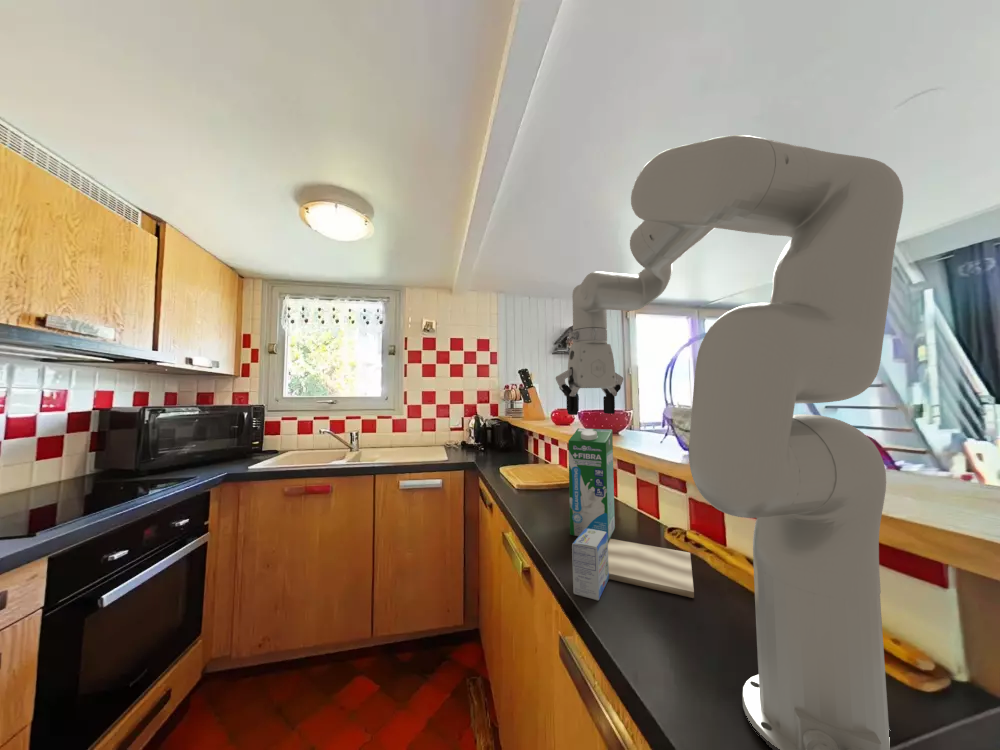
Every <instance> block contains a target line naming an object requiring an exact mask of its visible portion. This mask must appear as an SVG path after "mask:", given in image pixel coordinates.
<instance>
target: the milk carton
mask: <svg viewBox="0 0 1000 750" xmlns="http://www.w3.org/2000/svg"><path fill="white" fill-rule="evenodd" d="M613 440H614V439H613V429H606V428H605V429H602V428H577V429H576V430H575V432H574V433H572V435H571V437H570V438H569V439H568V446H567V447H568V486H569V487H568V489H569V490H568V494H569V497H568V499H569V536H570V535H571V536H575V537H579V535H580V534H581V533H582V532H583V531H584V529H595V530H600V531H604V532H607V534H608V542H609V541H610V539H611V537H612V534H613V533H614V531H615V529H616V526H615V525H616V524H615V523H616V520H615V489H614V488H615V483H614V476H615V475H614V444H613Z"/></svg>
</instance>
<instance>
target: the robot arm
mask: <svg viewBox="0 0 1000 750" xmlns="http://www.w3.org/2000/svg"><path fill="white" fill-rule="evenodd" d="M903 190H904V189H903V185H902V182H901V180H900V177H899V176H898V174H897V173H896V171H894V169H892V168H891V167H890V166H889V165H887V164H886V163H884V162H883V161H880V160H877V159H874V158H871V157H870V158H869V157H864V156H856V155H849V154H842V153H836V152H830V151H824V150H819V149H816V148H815V149H814V148H810V147H806V146H802V145H795V144H789V143H786V142H781V141H777V140H772V139H768V138H764V137H758V136H752V135H748V134H747V135H746V134H733V135H732V134H731V135H724V136H718V137H713V138H710V139H705V140H703V141H698V142H693V143H690V144H683V145H679V146H676V147H672V148H668V149H666V150H664V151H661V152H659V153H658V154H657V155H655V156H654V157H653V158H651V159H650V160H649V161H648V162H646V164H645V165H644V166H643V168H642V169H641V170H640V171H639V174H637V177H636V179H635V181H634V183H633V186H632V189H631V195H630V205H631V209H632V211H633V213H634V215H635V216H636V217H637V218H639V219H641V220H642V222H641V223H640V224H638V226H637V227H636V228H635V229H634V230H633V232H632V233H631V236H630V239H629V249H630V252H631V254H632V256H633V257H634V260H635V261H636V262H637V263H638V264H639V265H640V266H642V267H643V269H642V270H641V271H639V272H638V273H637V274H630V273H622V272H621V273H619V272H608V271H592V272H589V273H588V274H587V275H586V276H585V277H584V279H583V280H582V282H581V283H580V284H578V285H576V286H575V287H574V289H573V290H572V296H571V297H572V332H569V333H568V338H569V339H572V344H571V345H570V348H569V353H568V361H567V369H566V370H565V371H564V372H562V373H559V374H558V375H556V377H555V381H556V382H557V383H556V384H558V386H559V390H560V391H561V392H562V393H563V395H564V396H565V397H566V411H567V415H572V416H577V415H578V413H579V407H578V402H579V401H578V399H579V398H578V396H576V394H577V393H578V392H579V390H581V389H601V391H602V392H603V394H604V396H603V413H604V414H608V415H614V414H615V412H616V410H615V409H616V400H615V398H616V397H617V396H618V392H619V391H621V388H622V384H623V383H624V379H625V378H624V376H622V375H620V374H619V373H617V372H616V370H615V369H616V368H615V367H616V366H615V359H614V353H613V349H612V345H611V344H610V343H608V323H607V322H608V319H607V316H608V315H607V314H608V313H607V312H608V310H610V311H625V312H633V311H637V310H640V309H643V308H644V307H646V306H648V305H649V304H650V303H651V302H653V301H655V299H657V298H659V297H660V296H661V295H662V294H663V292H665V290H666V289H667V287H668V285H669V282H670V281H671V277H672V273H673V268H674V267H673V264H674V263H675V262H676V261H677V260H678V259H679V258H681V257H682V256H684V254H685V253H686V252H688V251H689V250H690V249H691V248H693V247H694V246H695V245H697V244H698V243H699V242H700V241H701V240H702V239H704V238H705V237H706V236H707V235H709V234H710V233H711V232H712V231H713V230H715V229H722V230H729V231H735V232H741V233H742V232H744V233H750V234H760V235H761V234H762V235H769V236H780V237H789V238H791V239H790V240H789V241H788V242H787V244H786V245H785V246H784V248H783V250H782V252H781V253H780V255H779V257H778V259H777V262H776V264H775V267H774V270H773V273H772V274H773V277H772V287H771V288H772V290H771V296H770V302H756V303H748V304H744V305H740V306H738V307H735V308H733V309H731V310H729V311H727V312H724V314H722V315H720V317H718V318H717V319H716V320H715V321H714V322H713V323H712V325H711V326H710V327H709V329H708V330H707V331H706V333H705V335H704V336H703V339H702V341H701V343H700V346H699V347H698V348H699V349H698V351H697V357H696V361H695V369H694V382H693V392H692V394H693V395H692V401H691V403H692V405H691V414H690V415H691V416H690V428H689V440H688V441H689V442H688V443H689V444H688V462H689V469H690V472H691V477H692V480H693V482H694V484H695V487H696V488H697V490H698V491H699V493H700V494H701V496H702V498H703V499H704V500H705V501H706V502H707V503H708V504H710V505H711V506H712V507H714V508H715V509H716V510H718V511H720V512H722V513H724V514H727V515H729V516H732V517H738V518H745V519H746V518H747V519H756V520H755V524H754V529H753V536H752V554H753V557H752V561H753V582H754V602H755V603H754V604H755V605H754V606H755V627H756V647H757V648H756V649H757V669H758V670H757V671H758V674H756V675H753V676H751V677H750V678H748V679H747V680H746V681H745V682H744V685H743V686H742V692H741V693H742V694H741V696H742V709H743V711H744V715H745V716H747V717H746V719H747V718H748V719H747V721H748V722H749V721H750V722H749V724H750V723H751V724H752V726H753V727H754V728H755V729H756V730H757V731H758V732H759V733H760V735H762V736H763V737H764V738H765V739H766V740H767V741H769V742H770V743H771V744H772V745H774V746H775V747H777V748H778V749H780V750H890V737H889V730H890V726H889V725H890V724H889V711H888V710H889V709H888V697H887V696H888V693H887V679H886V665H885V650H884V649H885V648H884V637H883V620H882V619H883V618H882V617H883V616H882V605H881V604H882V603H881V602H882V601H881V591H882V590H881V577H880V575H881V574H880V573H881V572H880V545H879V544H880V530H881V522H882V516H883V510H884V505H885V498H886V491H887V490H886V489H887V473H886V466H885V463H884V460H883V457H882V454H881V452H880V451H879V449H878V447H877V446H876V444H875V443H874V442H873V441H872V440H871V439H870V438H869V437H868V436H867V435H866V434H864V432H863V431H861V430H860V429H858V428H857V427H855V426H854V425H851V424H849V423H848V422H845V421H843V420H841V419H837V418H834V417H830V416H824V415H821V414H820V415H819V414H808V413H807V414H805V413H802V414H800V413H799V414H794V412H795V406H796V404H824V403H832V402H840V401H846V400H849V399H852V398H854V397H857V396H859V395H861V394H863V392H865V391H866V390H868V388H870V386H872V384H873V382H874V381H875V379H876V377H877V376H878V373H879V370H880V364H881V360H882V352H883V346H884V337H885V329H886V323H887V315H888V309H889V308H888V307H889V299H890V293H891V285H892V271H893V261H894V254H895V249H896V244H897V238H898V233H899V230H900V229H899V228H900V223H901V219H902V213H903V206H904V191H903ZM566 379H567V383H568V384H567V383H566ZM751 724H750V725H751ZM752 726H751V727H752Z"/></svg>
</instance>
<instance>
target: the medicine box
mask: <svg viewBox="0 0 1000 750" xmlns="http://www.w3.org/2000/svg"><path fill="white" fill-rule="evenodd" d="M608 543H609V541H608V534H607V532H604V531H600V530H595V529H584V531H583V532H582V533H581V534H580V535H579V536H577V538H576V539H575V540H574V541H573V542H572V545H571V549H572V550H571V552H572V553H571V556H572V558H571V559H572V585H573V586H572V587H573V588H572V589H573V590H572V591H573V595H576V596H578V597H583V598H587V599H590V600H595V601H600V598H601V596H602V594H603V592H604V590H605V588H606V586H607V583H608V581H609V580H610V579H609V565H608Z"/></svg>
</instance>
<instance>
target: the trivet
mask: <svg viewBox="0 0 1000 750" xmlns="http://www.w3.org/2000/svg"><path fill="white" fill-rule="evenodd" d="M691 557H692V556H691V552H687V551H682V550H677V549H676V550H675V549H671V548H666V547H659V546H654V545H648V544H642V543H637V542H631V541H625V540H619V539H615V538H610V539H609V541H608V565H609V579H608V580H613V581H617V582H621V583H625V584H630V585H633V586H639V587H643V588H648V589H652V590H657V591H661V592H665V593H669V594H675V595H679V596H683V597H688V598H692V599H695V589H694V578H693V570H692V569H693V568H692V559H691Z"/></svg>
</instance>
